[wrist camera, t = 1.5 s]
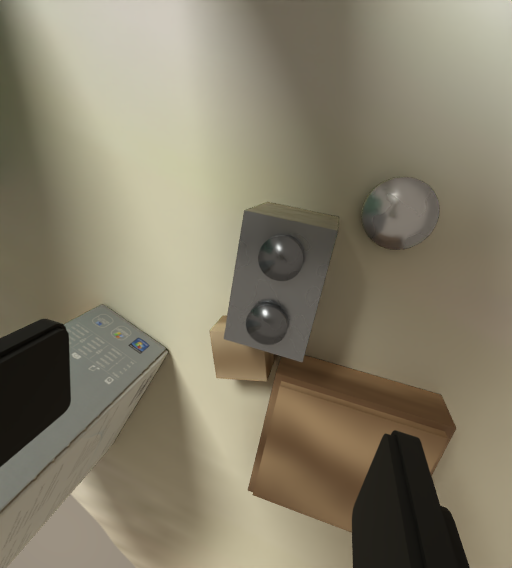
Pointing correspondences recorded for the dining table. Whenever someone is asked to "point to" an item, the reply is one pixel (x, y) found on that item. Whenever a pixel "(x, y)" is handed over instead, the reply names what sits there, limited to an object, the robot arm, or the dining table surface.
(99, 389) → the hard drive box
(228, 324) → the block
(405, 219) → the chrome dome
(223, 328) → the oak offcut
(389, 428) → the tray
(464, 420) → the dining table surface
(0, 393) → the robot arm
